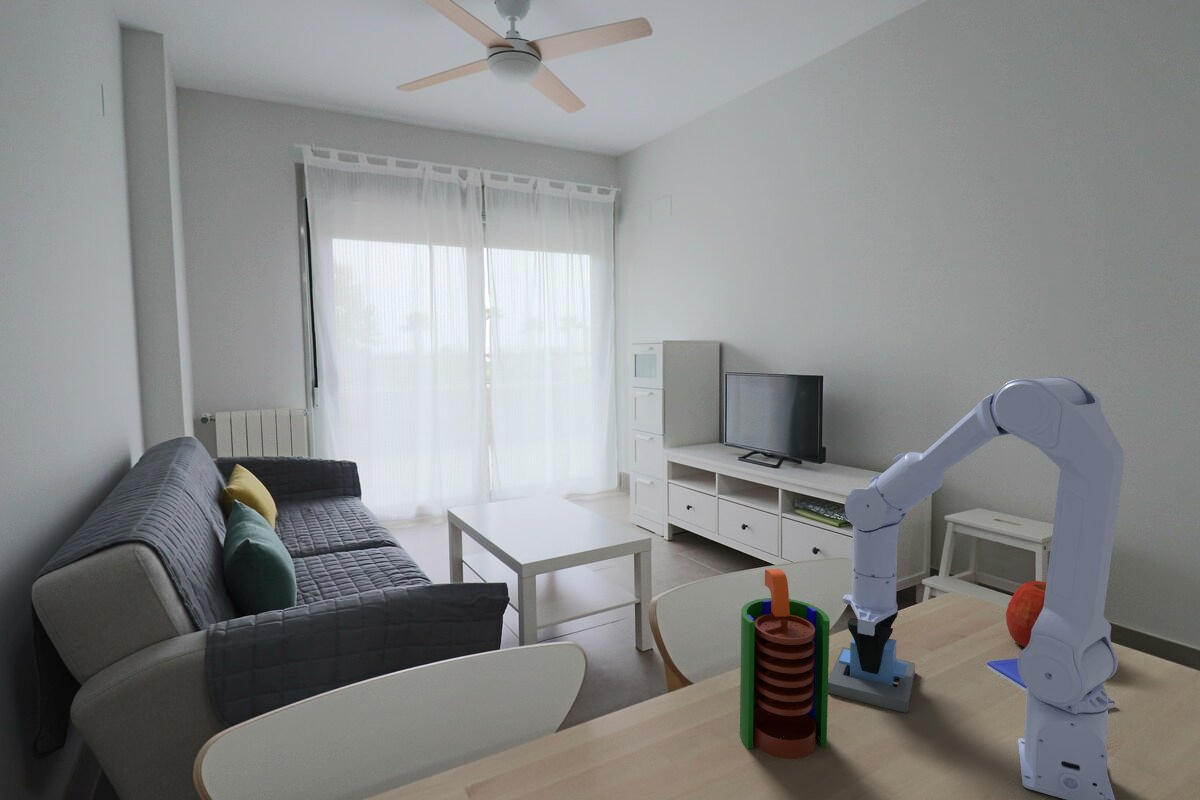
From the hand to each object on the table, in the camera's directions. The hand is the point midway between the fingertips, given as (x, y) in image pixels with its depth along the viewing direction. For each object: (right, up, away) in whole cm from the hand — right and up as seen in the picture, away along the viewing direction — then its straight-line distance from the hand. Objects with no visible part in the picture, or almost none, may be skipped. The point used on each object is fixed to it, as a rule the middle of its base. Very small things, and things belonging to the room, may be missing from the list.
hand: (872, 664), depth 89 cm
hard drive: (+24, -3, -1) cm, 24 cm away
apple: (+32, -2, +10) cm, 33 cm away
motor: (-17, -4, -12) cm, 21 cm away
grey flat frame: (0, -3, 0) cm, 3 cm away
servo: (0, -2, 0) cm, 2 cm away
